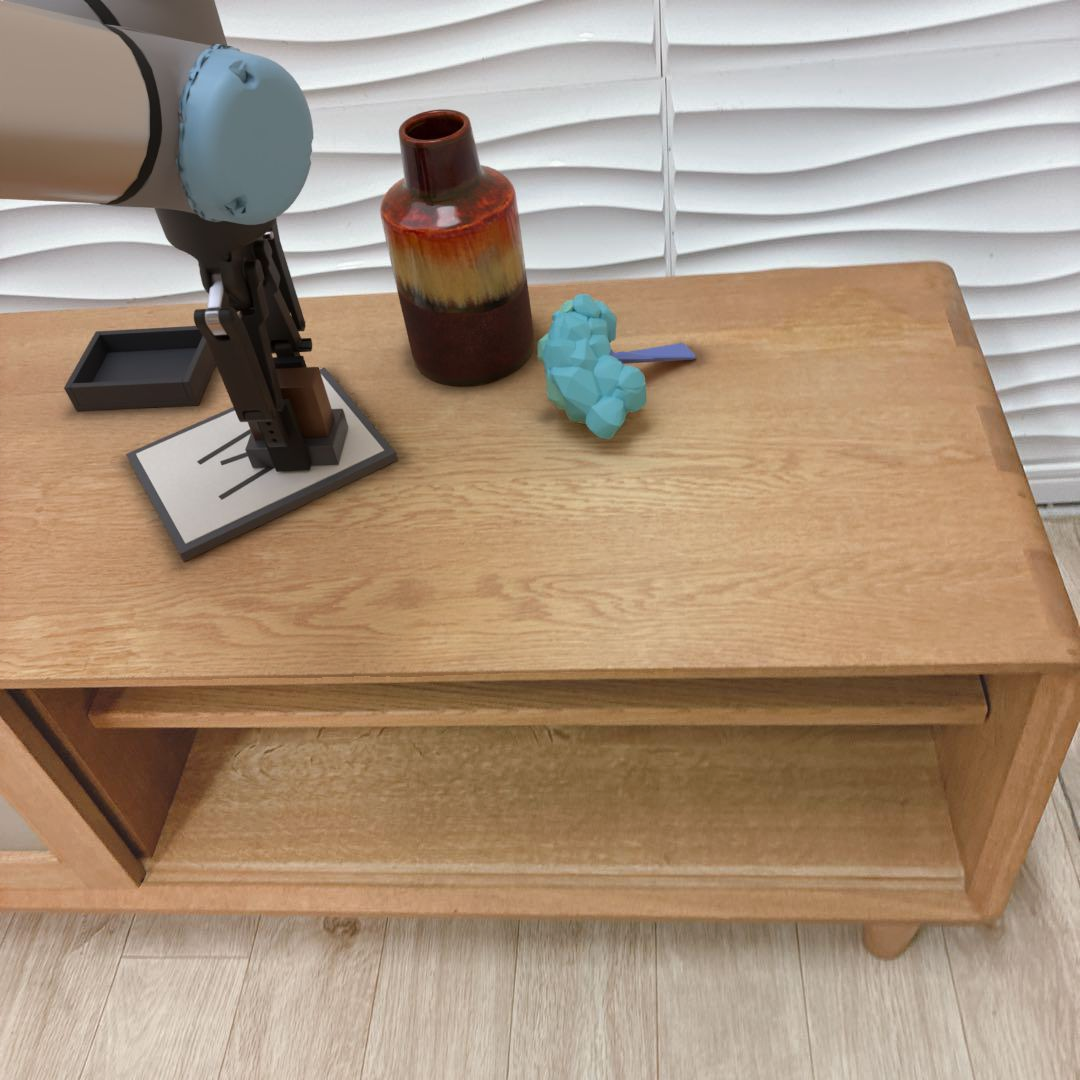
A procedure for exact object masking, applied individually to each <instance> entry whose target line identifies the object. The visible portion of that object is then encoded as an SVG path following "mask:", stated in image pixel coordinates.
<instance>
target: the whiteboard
mask: <svg viewBox="0 0 1080 1080" xmlns="http://www.w3.org/2000/svg"><path fill="white" fill-rule="evenodd" d="M319 370H320V373H321V376H322V380H323V383H324V386H325V389H326V393H327V396H328V399H329V402H330V405H331V409H343V411H344V414H345V417H346V421H347V424H348V431H347V435H346V438H345V442H344V446H343V450H342V453H341V457H340V461H339V464H338V465H318V466H311V467H310V470H304V471H280V472H276V470H275V468H274V467H268V468H252V465H251V463H250V460H249V458H248V455H247V453H246V450H245V449H246V446H247V443H248V440H249V437H250V435H251V430H250V427H249V425H248V422H240V421H239V419H238V417H237V414H236V412H235V410H234V407H233V406H232V407H230V408H228V409H226V410H224V411H221V412H219V413H217V414H214V415H213V416H210V417H208V418H206V419H203V420H201V421H198V422H196V423H194V424H191V425H189V426H186V427H185V428H183V429H180V430H177V431H175V432H173V433H171V434H168V435H166V436H163V437H162V438H159V439H157V440H155V441H152V442H150V443H148V444H145V445H143V446H141V447H138V448H136V449H134V450H132V451H130V452H127V453H126V454H125V455H126V458H127V460H128V462H129V464H130V465H131V467H132V469H133V471H134V472H135V474H136V476H137V479H138V480H139V482H140V484H141V485H142V487H143V489H144V491H145V493H146V495H147V497H148V498H149V500H150V502H151V504H152V507H153V508H154V509H155V512H156V513H157V515H158V517H159V519H160V521H161V523H162V524H163V526H164V528H165V531H166V532H167V534H168V536H169V538H170V539H171V541H172V544H173V545H174V547H175V549H176V550H177V552H178V554H179V556H180V558H181V559H182V562H187V561H189V560H191V559H193V558H195V557H197V556H199V555H201V554H204V553H206V552H208V551H211V550H212V549H214V548H216V547H219V546H221V545H223V544H225V543H227V542H228V541H231V540H233V539H235V538H237V537H239V536H241V535H244V534H246V533H248V532H250V531H252V530H254V529H256V528H259V527H261V526H263V525H264V524H266V523H269V522H271V521H274V520H275V519H277V518H280V517H281V516H283V515H286V514H287V513H290V512H292V511H294V510H296V509H298V508H301V507H303V506H304V505H307V504H309V503H311V502H313V501H315V500H317V499H319V498H321V497H324V496H325V495H327V494H330V493H332V492H334V491H336V490H338V489H340V488H342V487H345V486H347V485H349V484H350V483H353V482H355V481H358V480H359V479H361V478H363V477H366V476H367V475H370V474H372V473H373V472H377V471H379V470H380V469H382V468H384V467H387V466H389V465H391V464H393V463H395V462H397V461H398V460H399V458H398V454H397V452H396V450H395V449H394V448H393V447H392V445H391V444H390V443H389V442H388V440H387V439H386V438H385V437H384V436H383V435H382V434H381V432H380V431H379V430H378V429H377V427H375V425H374V424H373V423H372V422H371V420H370V419H369V418H368V417H367V415H366V414H365V413H364V412H363V411H362V410H361V408H359V406H358V404H357V403H356V402H355V401H354V399H352V398H351V396H350V395H349V394H348V393H347V392H346V391H345V390H344V388H343V387H342V386H341V385H340V384H339V382H338V381H337V380H336V378H335V377H334V376H333V375H332V374H331V372H330V371H329V370H328V369H327V368H326V367H321V368H319Z"/></svg>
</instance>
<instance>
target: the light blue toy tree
mask: <svg viewBox="0 0 1080 1080" xmlns="http://www.w3.org/2000/svg"><path fill="white" fill-rule="evenodd" d="M617 318H618V317H617V315H616V314H615V313H614V312H613V311H612V309H610V308H609V307H608V306H607V305H606V303H604V302H603V301H602V300H597V299H596V300H595V299H594V297H593V296H591V295H590V294H587V293H583V292H582V293H578V294H576V295H575V296H574V298H573V299H568V300H566V301H565V302H563V303H562V304H561V307H560V309H557V310H555V312H554V313H553V314H552V316H551V319H552V322H551V324H550V327H549V331H548V332H547V333H545V335H543V336H542V337H541V338H540V339H539V340H538V341H537V359H538V360H539V361H540V362H541V363H542V364H543V369H544V374H545V384H546V385H545V387H546V395H547V399H548V400H549V401H550V402H551V403H552V404H553V405H554V406H555V407H556V408H557V409H558V410H561V411H564V412H565V414H566V416H567V417H566V418H567V419H568V420H569V421H570V422H572V423H577V424H582V425H583V424H584V425H586V426H587V428H588V430H589V431H590V432H591V433H592V434H594V435H595V436H597V437H598V438H600V439H602V440H610V439H612V438H613V437H614V436H615V434H616V433H617V432H618V430H619V429H620V428H621V427H622V426H623V424H624V422H625V421H626V416H627V415H628V413H629V412H630V413H636V412H638V411H639V410H641V409H642V408H644V407H645V406H646V404H647V383H646V377H645V375H644V372H642V371H641V370H640V369H639V368H637V367H635V366H633V365H626V364H641V363H642V364H643V363H658V362H676V361H677V362H678V361H693V360H694V359H696V354H695V353H694V352H693V351H692V350H691V349H690V348H689V346H687V345H686V344H685V343H683V342H678V343H673V344H666V345H661V346H653V347H648V348H641V349H635V350H630V351H617V352H614V351H613V349H612V347H611V342H614V341H615V340H616V338H617V321H618V319H617ZM549 417H550V418H551V417H552V415H550V416H549Z"/></svg>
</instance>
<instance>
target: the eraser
mask: <svg viewBox="0 0 1080 1080" xmlns="http://www.w3.org/2000/svg"><path fill="white" fill-rule="evenodd" d="M276 372H277V377H278V381H279V385H280V389H281V393H282V397H283V399H289V400H290V403H291V406H292V409H293V412H294V414H295V417H296V420H297V423H298V426H299V429H300V432H301V435H302V438H303V440H304V443H305V446H306V450H307V452H308V455H309V458H310V461H311V466H318V465H338V464H339V461H340V457H341V453H342V450H343V446H344V442H345V438H346V435H347V431H348V424H347V421H346V417H345V414H344V411H343V409H331V405H330V402H329V399H328V396H327V393H326V389H325V386H324V383H323V380H322V376H321V373H320V367H319V366H309V367H308V366H307V367H304V368H284V369H276ZM248 425H249V427H250V430H251V435H250V437H249V440H248V443H247V446H246V449H245V450H246V453H247V455H248V458H249V460H250V463H251V465H252V468H268V467H274V465H273V462H272V460H271V457H270V454H269V452H268V449H267V447H266V444H265V441H264V439H263V436H262V434H261V431H260V428H259V426H258V423H257V422H248Z"/></svg>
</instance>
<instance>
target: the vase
mask: <svg viewBox="0 0 1080 1080" xmlns="http://www.w3.org/2000/svg"><path fill="white" fill-rule="evenodd" d="M398 128H399V129H398V142H399V147H400V148H399V149H400V156H401V164H402V171H403V177H402V178H401V179H399V180H398V181H396V182H395V183H394V184H392V186H391V187H390V188H388V190H387V191H386V192H385V194H384V195H383V197H382V199H381V202H380V205H379V206H380V207H379V214H380V220H381V224H382V229H383V233H384V239H385V243H386V247H387V251H388V256H389V259H390V264H391V269H392V273H393V274H392V275H393V278H394V282H395V287H396V291H397V295H398V300H399V304H400V309H401V314H402V317H403V321H404V327H405V330H406V334H407V339H408V344H409V347H410V351H411V357H412V359H413V362H414V365H415V367H416V368H417V369H418V371H419V372H420V373H421V374H422V375H424V376H425V377H426V378H428V379H430V380H431V381H434V382H436V383H439V384H444V385H448V386H457V387H469V386H479V385H483V384H489V383H492V382H495V381H498V380H501V379H504V378H505V377H507V376H509V375H511V374H513V373H515V372H516V371H517V370H519V369H520V368H521V367H522V366H523V365H524V364H525V363H526V362H527V361H528V360H529V358H530V357H531V355H532V353H533V350H534V346H535V332H534V325H533V315H532V309H531V300H530V292H529V286H528V277H527V276H528V275H527V269H526V261H525V253H524V246H523V240H522V239H523V238H522V230H521V223H520V214H519V208H518V200H517V192H516V190H515V186H514V184H513V183H512V182H511V180H510V179H509V178H508V176H507V175H505V174H504V173H502V171H500V170H498V169H496V168H493V167H491V166H488V165H483V164H481V162H480V158H479V153H478V149H477V144H476V140H475V136H474V132H473V127H472V123H471V120H470V117H469V116H467V115H466V113H463V112H462V111H458V110H455V109H449V108H446V109H445V108H442V109H441V108H439V109H430V110H426V111H422V112H419V113H417V114H414V115H412V116H409V117H408V118H407V119H405V120H404V121H403V122H402V123H401V124H400V126H399V127H398Z"/></svg>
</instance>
